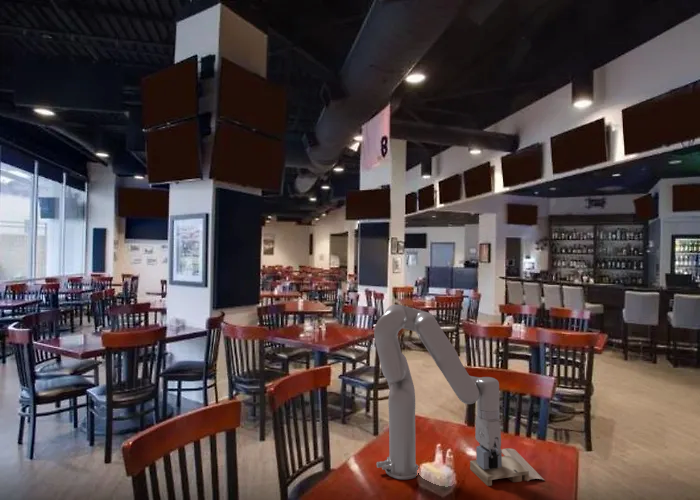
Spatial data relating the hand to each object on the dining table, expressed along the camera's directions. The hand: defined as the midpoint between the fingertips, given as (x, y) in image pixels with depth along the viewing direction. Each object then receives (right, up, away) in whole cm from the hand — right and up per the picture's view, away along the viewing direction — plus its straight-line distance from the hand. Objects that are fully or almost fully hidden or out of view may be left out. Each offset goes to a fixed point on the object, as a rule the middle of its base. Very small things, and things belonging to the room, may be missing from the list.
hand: (488, 463), depth 159 cm
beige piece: (+14, -5, +8) cm, 17 cm away
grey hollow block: (0, -1, 0) cm, 1 cm away
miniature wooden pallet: (+4, -4, +1) cm, 6 cm away
